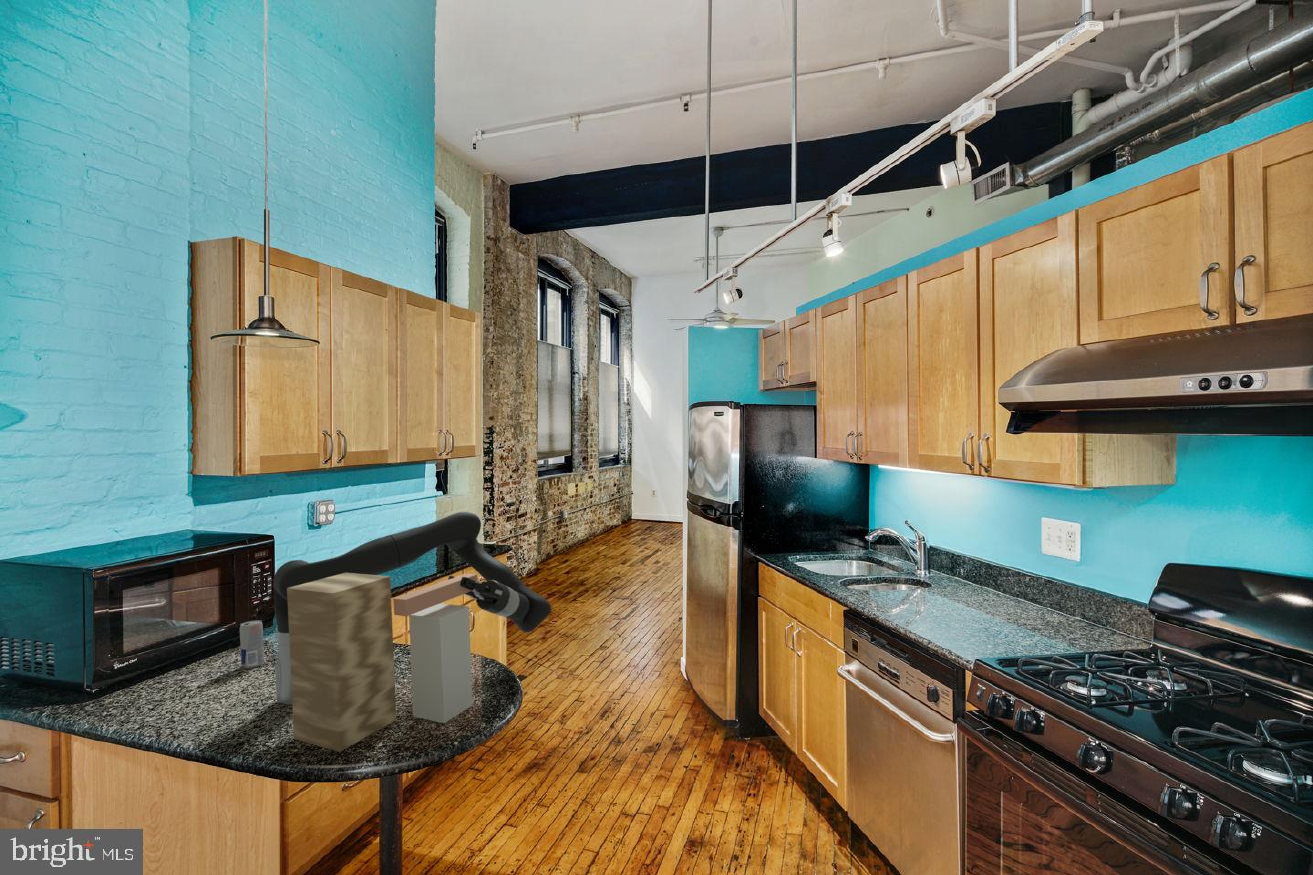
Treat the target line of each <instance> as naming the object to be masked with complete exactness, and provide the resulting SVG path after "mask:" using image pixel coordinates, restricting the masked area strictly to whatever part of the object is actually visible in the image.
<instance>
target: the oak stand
mask: <svg viewBox="0 0 1313 875" xmlns="http://www.w3.org/2000/svg"><path fill="white" fill-rule="evenodd" d="M391 588H392V587H391V576H390V575H388V576H387V575H380V574H378V575H368V574H357V573H342V574H339V575H335V576H331V577H327V578H324V579H320V580H316V581H312V582H308V583H305V584H301V585H297V586H293V587H290V588H287V599H288V621H289V642H290V664H291V685H292V723H293V724H292V726H293V740H294V739H295V741H297V740H299V741H298V742H301V741H302V742H301V743H305V742H306V743H305V744H309V745H312V744H313V746H316V745H317V746H316V747H320V748H325V749H328V750H332V751H334V752H339V753H341V752H343V751H344V749H345V750H346V749H348V748H350V747H352V746H353V745H355V744H358V743H359V742H361V741H362V740H364V739H366V738H367V737H369V736H371V735H372V734H375V733H376V732H378V731H379V729H380V730H382V729H383V728H385V727H387V726H388V725H391V724H392V723H394V722H395V721H397V703H396V701H397V699H396V698H397V696H396V680H395V679H396V678H395V659H394V658H395V657H394V655H395V654H394V637H393V636H394V633H393V631H394V630H393V612H392V607H393V606H392V589H391ZM393 721H394V722H393ZM387 724H388V725H387ZM386 725H387V726H386ZM384 726H385V727H384ZM382 727H383V728H382ZM377 730H378V731H377ZM365 737H366V738H365ZM351 745H352V746H351ZM349 746H350V747H349Z"/></svg>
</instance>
